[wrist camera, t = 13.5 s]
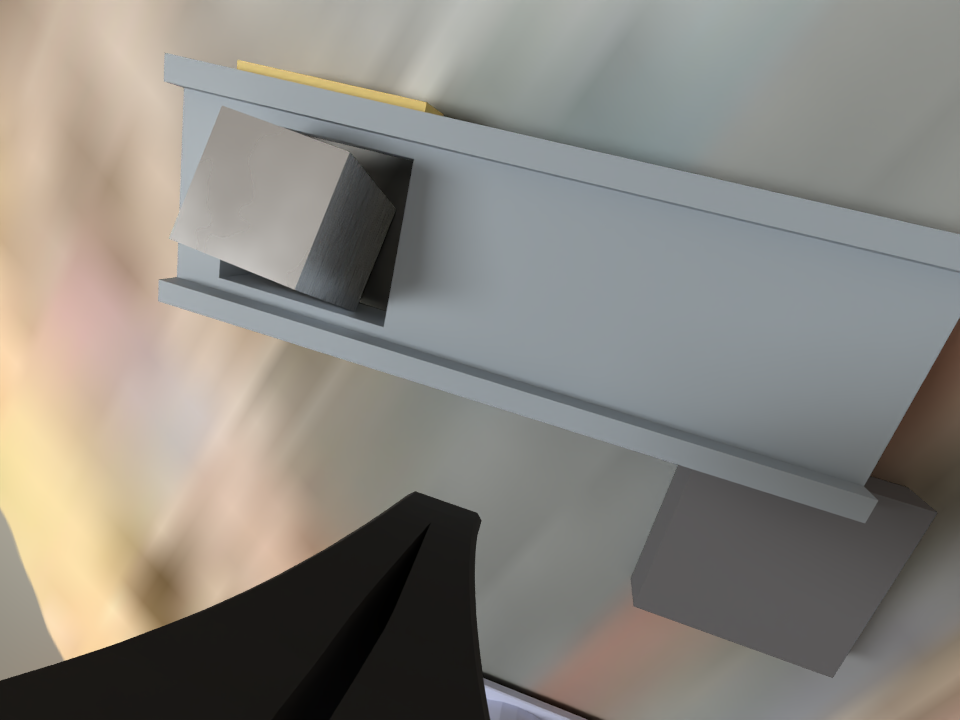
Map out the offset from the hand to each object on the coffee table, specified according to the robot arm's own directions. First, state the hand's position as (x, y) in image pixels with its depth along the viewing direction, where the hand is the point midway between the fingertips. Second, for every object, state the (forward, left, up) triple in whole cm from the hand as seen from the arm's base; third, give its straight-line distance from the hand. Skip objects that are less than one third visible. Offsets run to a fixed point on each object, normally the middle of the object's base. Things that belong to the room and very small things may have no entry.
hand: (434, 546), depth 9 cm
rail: (+4, +1, -10) cm, 11 cm away
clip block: (+3, +8, -9) cm, 13 cm away
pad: (-3, -10, -10) cm, 14 cm away
